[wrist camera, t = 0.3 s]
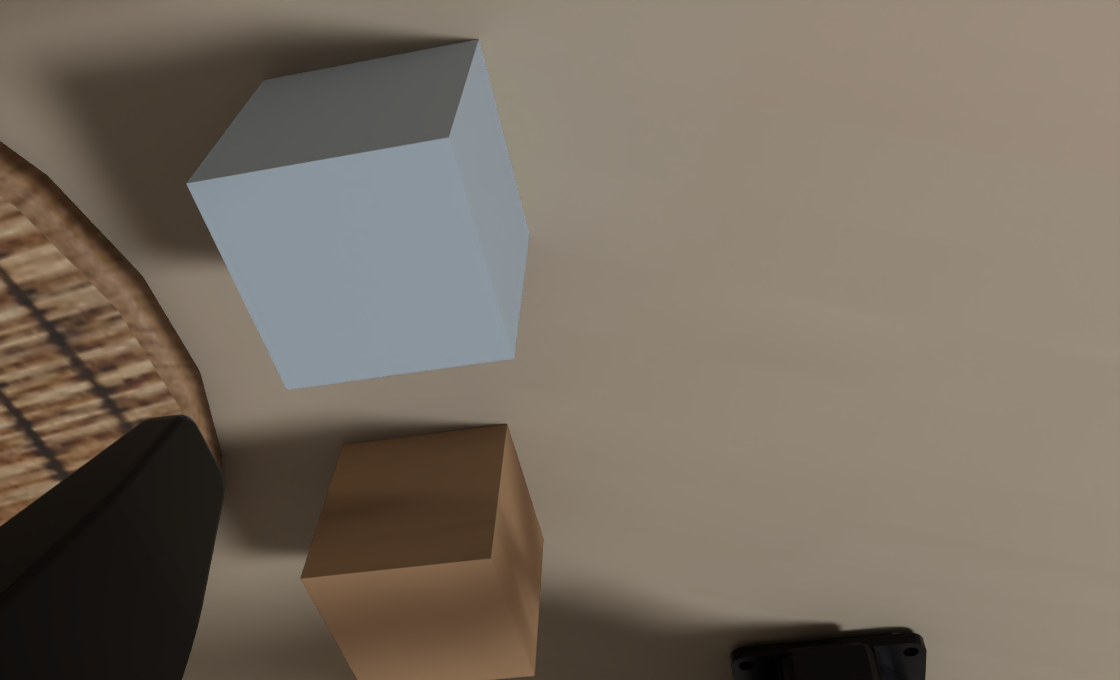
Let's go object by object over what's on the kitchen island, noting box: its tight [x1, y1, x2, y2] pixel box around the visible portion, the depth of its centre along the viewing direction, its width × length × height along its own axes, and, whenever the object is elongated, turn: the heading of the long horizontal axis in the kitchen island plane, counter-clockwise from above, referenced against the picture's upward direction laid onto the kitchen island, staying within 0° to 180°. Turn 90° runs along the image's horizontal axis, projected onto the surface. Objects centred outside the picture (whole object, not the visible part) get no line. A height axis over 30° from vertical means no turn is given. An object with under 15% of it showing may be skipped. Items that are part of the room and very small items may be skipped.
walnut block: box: [300, 424, 544, 680], centre depth 27 cm, size 5×5×5 cm
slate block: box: [186, 39, 529, 390], centre depth 20 cm, size 5×5×5 cm
